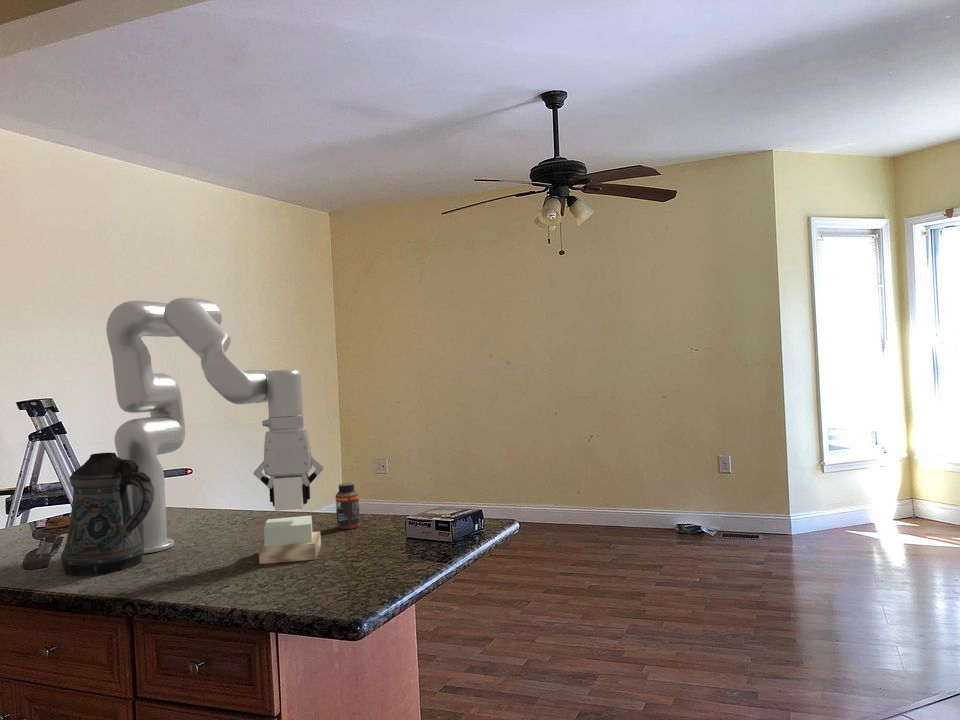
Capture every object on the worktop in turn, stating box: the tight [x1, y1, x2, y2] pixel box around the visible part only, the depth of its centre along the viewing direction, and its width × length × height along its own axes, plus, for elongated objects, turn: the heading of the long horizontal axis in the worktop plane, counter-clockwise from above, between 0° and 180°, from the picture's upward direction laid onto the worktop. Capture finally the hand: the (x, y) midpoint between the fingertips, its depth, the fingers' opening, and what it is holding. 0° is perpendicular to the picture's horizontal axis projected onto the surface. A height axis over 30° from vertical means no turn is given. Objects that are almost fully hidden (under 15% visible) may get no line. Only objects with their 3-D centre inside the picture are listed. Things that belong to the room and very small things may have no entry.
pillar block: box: [273, 475, 306, 511], centre depth 166 cm, size 6×6×7 cm
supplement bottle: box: [335, 482, 361, 530], centre depth 193 cm, size 6×6×11 cm
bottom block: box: [258, 531, 322, 565], centre depth 166 cm, size 12×12×4 cm
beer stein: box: [60, 452, 154, 577], centre depth 165 cm, size 16×19×25 cm
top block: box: [263, 515, 313, 547], centre depth 166 cm, size 10×10×4 cm
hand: (290, 503), depth 167 cm, fingers closed on pillar block, 6 cm apart
